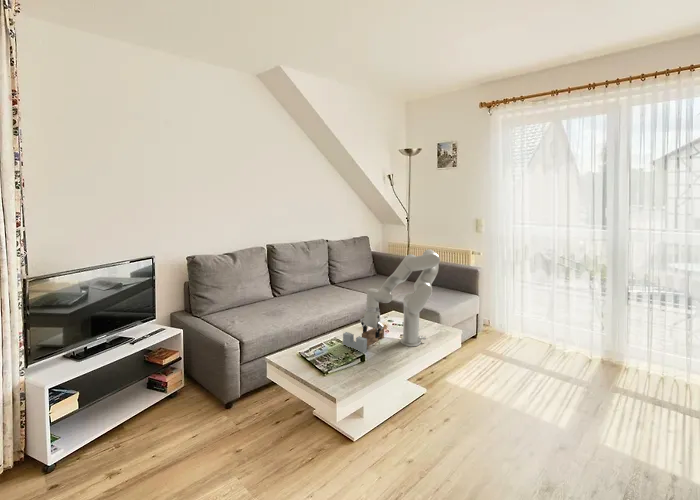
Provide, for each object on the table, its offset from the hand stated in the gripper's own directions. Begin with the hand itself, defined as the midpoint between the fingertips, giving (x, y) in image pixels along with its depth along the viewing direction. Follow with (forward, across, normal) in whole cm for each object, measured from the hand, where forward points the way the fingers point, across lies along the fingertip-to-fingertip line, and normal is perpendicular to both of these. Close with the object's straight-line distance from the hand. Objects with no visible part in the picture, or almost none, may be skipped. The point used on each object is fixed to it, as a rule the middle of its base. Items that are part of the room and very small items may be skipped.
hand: (370, 335), depth 241 cm
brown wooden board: (+5, -1, -2) cm, 5 cm away
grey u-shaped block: (+5, +1, +14) cm, 15 cm away
